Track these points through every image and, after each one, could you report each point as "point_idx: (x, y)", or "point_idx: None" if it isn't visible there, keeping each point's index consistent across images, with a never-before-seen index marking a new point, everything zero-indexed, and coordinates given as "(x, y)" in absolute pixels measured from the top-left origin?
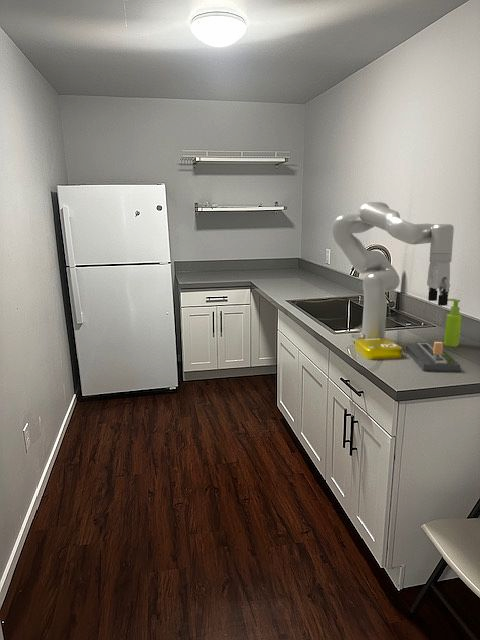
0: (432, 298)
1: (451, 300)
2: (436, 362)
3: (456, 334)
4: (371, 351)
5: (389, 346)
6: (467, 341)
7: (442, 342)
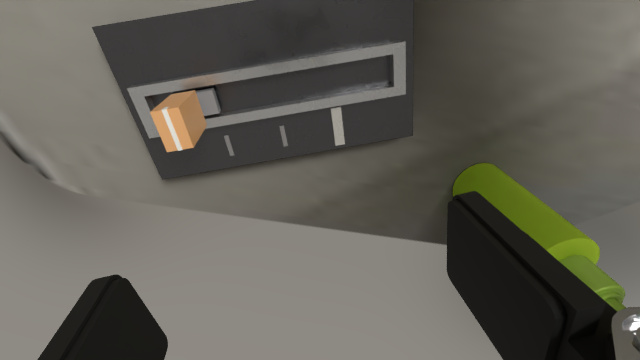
0: (461, 251)
1: None
2: (131, 92)
3: None
4: None
5: None
6: None
7: (179, 149)
